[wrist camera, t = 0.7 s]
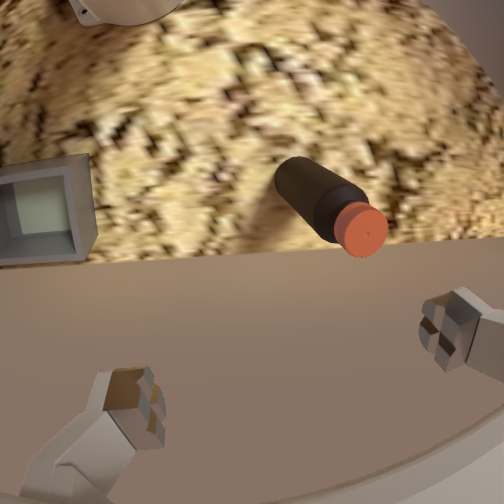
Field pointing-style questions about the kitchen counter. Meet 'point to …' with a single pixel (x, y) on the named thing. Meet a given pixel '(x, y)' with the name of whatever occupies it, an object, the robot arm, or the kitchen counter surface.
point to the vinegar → (332, 206)
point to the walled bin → (46, 211)
